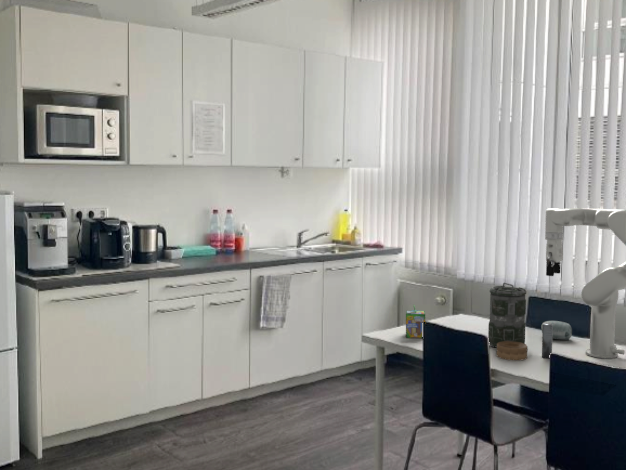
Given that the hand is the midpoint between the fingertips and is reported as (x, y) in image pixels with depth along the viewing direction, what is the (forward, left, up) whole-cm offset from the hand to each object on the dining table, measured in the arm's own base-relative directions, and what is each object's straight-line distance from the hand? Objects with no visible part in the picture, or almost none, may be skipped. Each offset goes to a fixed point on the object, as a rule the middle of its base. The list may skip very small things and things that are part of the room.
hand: (553, 274), depth 314 cm
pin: (-6, +23, -32) cm, 40 cm away
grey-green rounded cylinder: (+2, -12, -32) cm, 34 cm away
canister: (+15, +15, -32) cm, 38 cm away
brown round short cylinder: (+6, +31, -32) cm, 45 cm away
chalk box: (+56, +24, -32) cm, 68 cm away
